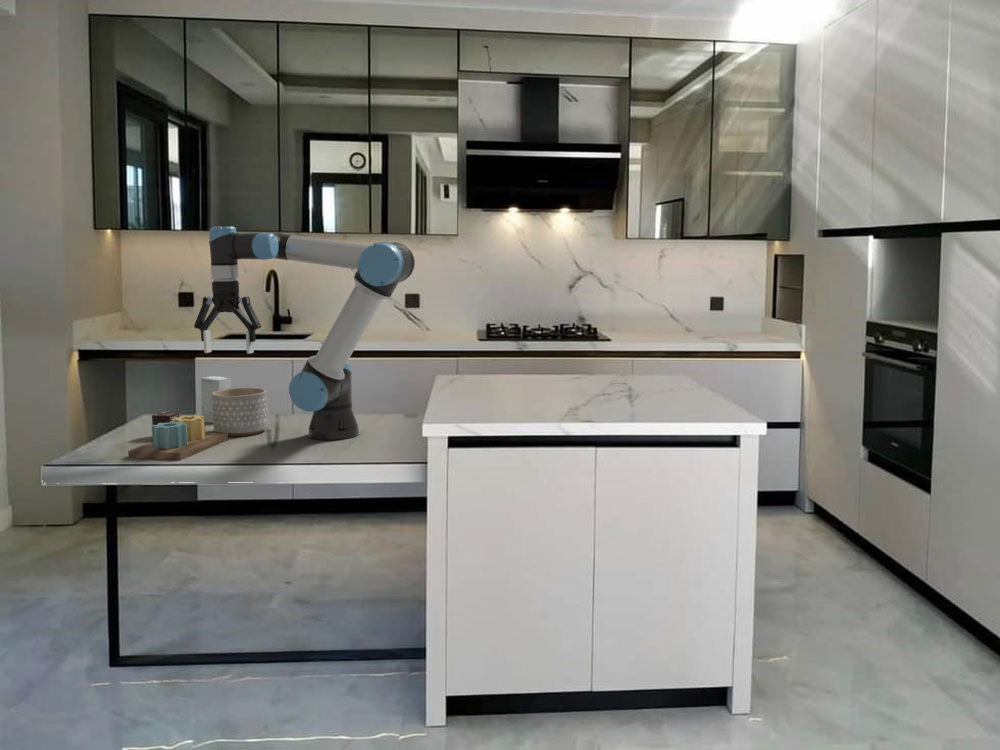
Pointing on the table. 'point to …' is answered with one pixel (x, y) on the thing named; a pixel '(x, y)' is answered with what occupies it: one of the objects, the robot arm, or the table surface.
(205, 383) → the skincare box
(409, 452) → the table surface
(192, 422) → the gear out
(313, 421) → the robot arm
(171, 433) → the gear
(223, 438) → the gear board
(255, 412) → the planter
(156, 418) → the box
